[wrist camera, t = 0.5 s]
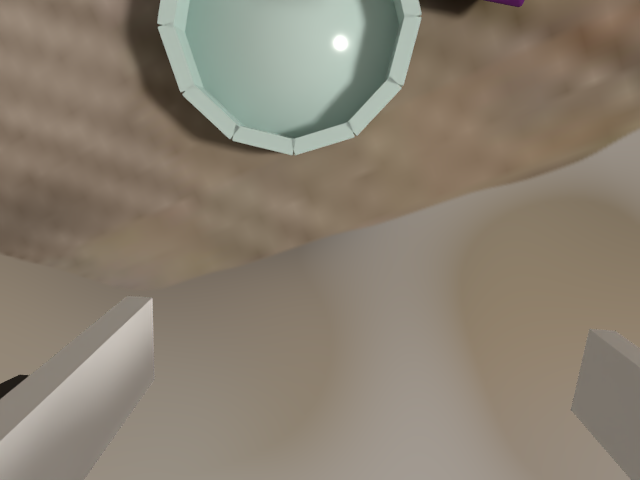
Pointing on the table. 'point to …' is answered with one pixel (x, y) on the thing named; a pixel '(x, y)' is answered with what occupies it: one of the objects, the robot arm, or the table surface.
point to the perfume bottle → (509, 2)
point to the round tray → (289, 65)
